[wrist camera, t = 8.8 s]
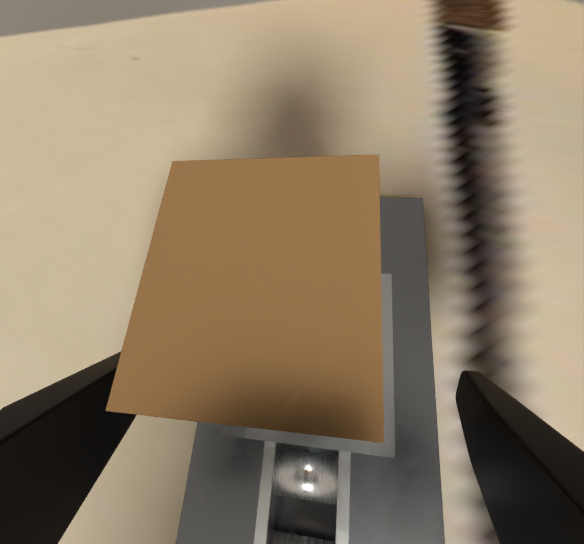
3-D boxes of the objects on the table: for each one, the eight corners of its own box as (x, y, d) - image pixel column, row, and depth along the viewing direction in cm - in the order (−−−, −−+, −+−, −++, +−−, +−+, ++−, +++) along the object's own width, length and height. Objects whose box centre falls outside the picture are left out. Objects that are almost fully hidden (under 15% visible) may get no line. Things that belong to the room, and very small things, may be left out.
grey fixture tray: (442, 611, 13) (484, 703, 9) (181, 557, 15) (129, 614, 11) (418, 207, 20) (437, 165, 16) (241, 206, 22) (222, 169, 18)
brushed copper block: (348, 398, 15) (384, 443, 3) (280, 392, 16) (105, 410, 4) (349, 321, 17) (379, 154, 5) (287, 317, 17) (172, 161, 5)
